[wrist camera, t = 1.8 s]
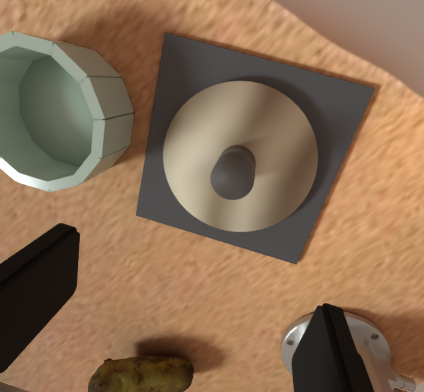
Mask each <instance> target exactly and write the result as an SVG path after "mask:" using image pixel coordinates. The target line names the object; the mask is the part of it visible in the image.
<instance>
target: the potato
mask: <svg viewBox="0 0 424 392" xmlns="http://www.w3.org/2000/svg"><path fill="white" fill-rule="evenodd" d="M193 373H194V369H193V366H192V364H191V363H190V362H189V361H188V360H186V359H185V358H183V357H180V356H171V357H165V356H159V355H142V356H136V357H131V358H126V359H119V360H112V359H110V358H109V359H107V360H104V363H103V364H102V365H101V366H100V367H99V368H98V369H97V371H96V372H95V373H94V375H93V376H92V377H91V379H90V381H89V385H88V392H183V391H185V390H186V389H188V388H189V386H190V385H191V383H192V379H193Z"/></svg>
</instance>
